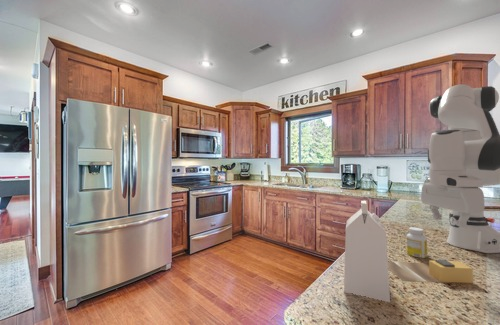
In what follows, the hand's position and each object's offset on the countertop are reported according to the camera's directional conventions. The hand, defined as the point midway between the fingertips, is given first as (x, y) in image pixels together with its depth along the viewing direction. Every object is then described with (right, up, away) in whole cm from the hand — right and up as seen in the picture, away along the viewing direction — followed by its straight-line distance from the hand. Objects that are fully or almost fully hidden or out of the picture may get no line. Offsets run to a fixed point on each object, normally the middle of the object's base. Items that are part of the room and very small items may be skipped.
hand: (448, 222), depth 69 cm
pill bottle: (+4, -20, +18) cm, 27 cm away
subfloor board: (-5, -19, +4) cm, 20 cm away
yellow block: (0, -18, 0) cm, 18 cm away
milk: (-28, -19, -3) cm, 34 cm away
